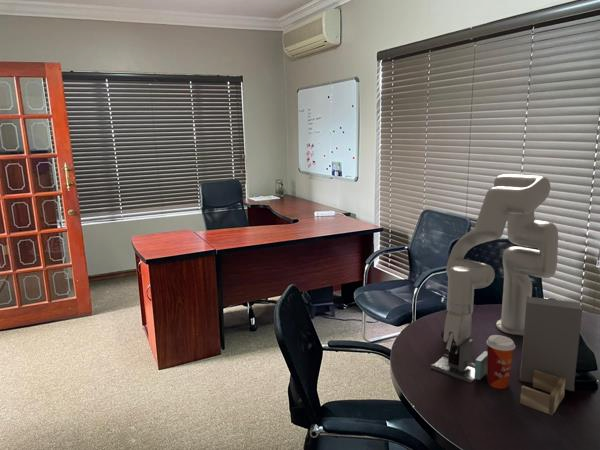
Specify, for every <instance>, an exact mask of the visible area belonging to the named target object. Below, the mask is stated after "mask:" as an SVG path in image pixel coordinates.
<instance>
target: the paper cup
mask: <svg viewBox="0 0 600 450" xmlns="http://www.w3.org/2000/svg"><path fill="white" fill-rule="evenodd" d="M486 345H487V352H488V354H487V364H488V372H487V384H488V385H489V386H490V387H492V388H495V389H497V390H504V389H507V388H508V387H509V385H510V384H509V383H510V378H511V371H512V366H513V365H512V364H513V357H514V351H515V349H516V345H515V342H514V340H513V339H511V337H508V336H505V335H500V334H492V335H490V336H489V337H488V338H487V340H486Z"/></svg>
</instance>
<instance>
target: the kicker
mask: <svg viewBox="0 0 600 450" xmlns="http://www.w3.org/2000/svg"><path fill="white" fill-rule="evenodd" d="M454 342H455V341H454ZM455 343H456V342H455ZM473 344H474V340H473V339H471V338H470V339H468V340H465V341H464V342H463V343H462V344H460V345H459V365H458V366H457V365H454V364H451V363H449V357H448V366H450V367H453V368H456V369H459V371H462V372H463V371H464V370H465V369H466V368H467V367H468V366H470V367H472V368H475V377H474V378H476V379H475V380H479V381H480V380H481V379H482V378H483V377H484V376H485V375H487V374H488V364H487V354H488V350H484V351H483V352H482V353H481V354H480V355H478V357H476V358H475V361H474V362H475V363H474V364H473V362H472V361H473V359H472V358H473ZM453 347H455V349H456V346H455V345H453Z"/></svg>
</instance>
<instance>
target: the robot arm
mask: <svg viewBox="0 0 600 450" xmlns="http://www.w3.org/2000/svg"><path fill="white" fill-rule="evenodd" d="M550 191H551V183H550V180H549V179H548V178H547V177H545V176H542V175H528V174H526V175H525V174H515V173H513V174H512V173H508V174H507V173H505V174H500V175H497V176H496V177H495V178H494V181H493V186H492V187H490V188H489V189H488V190H487V192H486V194H485V196H484V199H483V202H482V205H481V207H480V210H479V214H478V217H477V219H476V222H475V226H473V228H472V229H471V230H470V231H468V232H467V233H465V234H463V236H461V238H459V240H457V242H456V243H455V244H454V245H453V246H452V249H451V251H450V254H449V257H448V260H447V264H446V268H445V269H446V270H445V272H446V275H447V288H448V289H447V292H448V295H446V299H447V300H446V313H447V314H446V315H445V320H444V321H445V322H444V329H443V331H444V338H443V342H444V343H446V347H445V348H446V349H447V350H448V355H449V363H451V364H454V365H457V366H458V365H459V345H460V344H462V343H463V342H464V341H465V340H468V338H469V337H470V338H471V336H472V324H473V323H472V314H473V312H474V300H475V299H474V298H475V297H474V296H475V289H476V290H477V289H483V288H486V287H488V286H490V285H491V284H492V283H493V282H494V279H495V276H496V273H495V269H494V268H493V267H492V266H491V265H489V264H487V263H485V262H479V261H475V260H469V259H465V256H466V254H467V253H468V251H470V250H471V249H472V248H473V247H475V246H478V245H480V244H481V245H482V244H484V243H486V242H487V243H488V242H492V241H496V240H498V239H500V238H501V237H502V236H503V234H504V230H505V228H506V225H507V228H506V229H507V239H508V241H509V242H510V243H512V244H514V245H517V246H514V245H513V246H509V247H507V248H505V250H504V251H503V254H502V266H503V290H502V305H501V317H500V319H499V320H497V321H496V326H495V327H497V329H498V330H500V331H501V332H503V333H505V334H509V335H514V336H523V335H524V323H525V311H526V298H527V297H533V296H532V295H533V283H532V280H531V278H530V276H532V277H536V278H541V279H550V278H552V277H553V276H554V275H555V274H556V272H557V266H558V255H559V253H558V251H559V249H558V248H559V230H558V227H557V226H556V225H555V224H554V223H553V222H550V221H545V220H537V218H535V210H536V209H537V208H538V207H539V206H541V205H542V204H543V203H544V202H545V201H546V200H547V198H548V197H549V196H550ZM447 311H448V312H447ZM454 341H455V342H456V343H455V342H454ZM453 345H455V346H456V349H455V347H453Z"/></svg>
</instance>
